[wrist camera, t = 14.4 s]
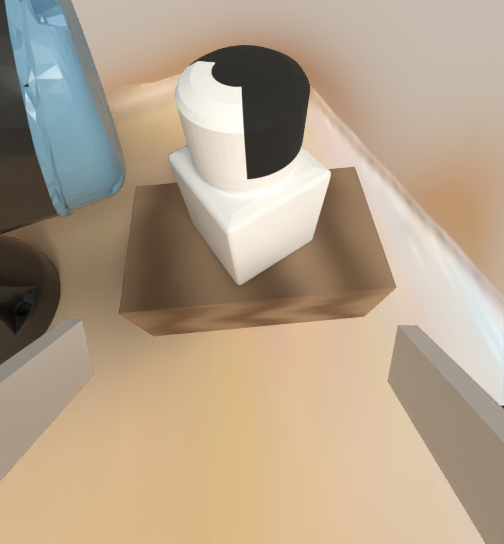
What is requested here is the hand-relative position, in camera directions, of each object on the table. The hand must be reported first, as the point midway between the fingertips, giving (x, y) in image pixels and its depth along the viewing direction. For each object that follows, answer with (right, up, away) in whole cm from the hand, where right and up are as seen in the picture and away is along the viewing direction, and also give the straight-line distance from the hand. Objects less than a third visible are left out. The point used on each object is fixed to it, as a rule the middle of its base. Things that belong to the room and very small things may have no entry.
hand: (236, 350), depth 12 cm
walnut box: (+1, +4, +17) cm, 17 cm away
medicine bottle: (+1, +6, +11) cm, 13 cm away
